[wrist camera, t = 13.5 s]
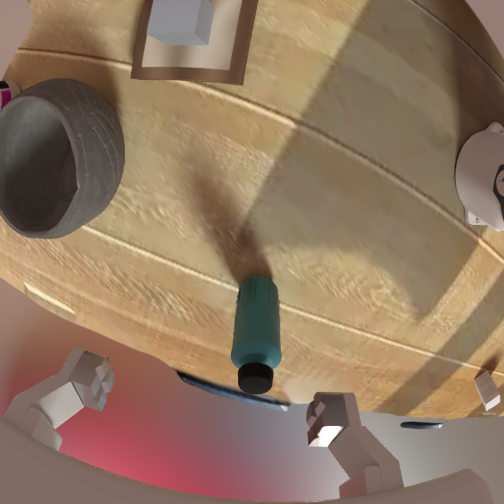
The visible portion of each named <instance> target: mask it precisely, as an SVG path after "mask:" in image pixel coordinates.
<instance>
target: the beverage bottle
mask: <svg viewBox="0 0 504 504" xmlns="http://www.w3.org/2000/svg"><path fill="white" fill-rule="evenodd" d="M239 287H240V288H238V289H239V293H238V296H237V298H238V300H236V302H237V303H236V304H237V306H236V307H237V309H236V308H235V309H236V317H235V316H234V317H235V320H234V321H235V325H234V333H233V335H234V337H233V346H232V351H231V359H232V362H233V363H234V365H235V366H236V367H238V368H239V370H238V385H239V388H240V389H241V390H242V391H244V392H246V393H249V394H263V393H266V392H268V391H269V390H270V389H271V387H272V382H273V369H274V368H276V367H277V366H278V365H279V363H280V361H281V346H280V331H281V330H280V321H281V319H280V317H279V316H280V315H279V307H280V301H279V302H278V298H279V297H278V291H279V290H277V287H276V285H275V284H274V283H273V282H272V281H271V280H270V279H268V278H266V277H262V276H254V277H250V278H248V279H246V280H245V281H244V282H243V283H242V284H241V286H239Z"/></svg>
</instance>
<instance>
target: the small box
mask: <svg viewBox="0 0 504 504" xmlns="http://www.w3.org/2000/svg"><path fill="white" fill-rule="evenodd" d="M474 381H475V385H476V389H477V391H478V393H479V395H480V398H481V400H482V402H483V404H484V406H485V409H486V411H488V410H489V409H490V408H492V407H493V406H495V405H496V404H498V403H499V402H500V393H499V391H498V389H497V387H496V385H495V383H494V381H493V379H492V377H491V375H490V374H489V372H488V370H486V371H485V372H484V373H482V374H481V375H480V376H478V377H477V378H475V379H474Z"/></svg>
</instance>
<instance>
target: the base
mask: <svg viewBox="0 0 504 504" xmlns="http://www.w3.org/2000/svg"><path fill="white" fill-rule="evenodd" d="M153 1H154V0H145V3H144V7H143V11H142V16H141V20H140V25H139V30H138V35H137V40H136V46H135V52H134V58H133V65H132V72H131V78H132V79H140V80H182V81H200V82H213V83H224V84H233V85H242V86H243V81H244V75H245V69H246V64H247V58H248V52H249V47H250V41H251V36H252V30H253V25H254V19H255V14H256V9H257V4H258V0H209V1H210V3H211V5H212V6H213V8H214V10H215V13H214V18H213V23H212V28H211V33H210V38H209V44H208V46H196V45H167V44H165V43H163V42H161V41H159V40H157V39H155V38H153V37H151V36H149V35H147V34H146V33H147V28H148V23H149V18H150V14H151V9H152V5H153Z"/></svg>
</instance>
